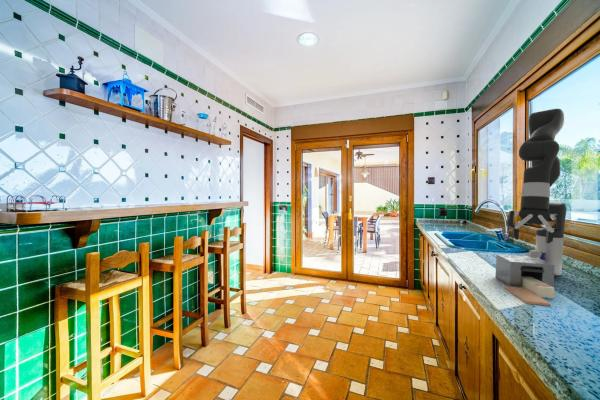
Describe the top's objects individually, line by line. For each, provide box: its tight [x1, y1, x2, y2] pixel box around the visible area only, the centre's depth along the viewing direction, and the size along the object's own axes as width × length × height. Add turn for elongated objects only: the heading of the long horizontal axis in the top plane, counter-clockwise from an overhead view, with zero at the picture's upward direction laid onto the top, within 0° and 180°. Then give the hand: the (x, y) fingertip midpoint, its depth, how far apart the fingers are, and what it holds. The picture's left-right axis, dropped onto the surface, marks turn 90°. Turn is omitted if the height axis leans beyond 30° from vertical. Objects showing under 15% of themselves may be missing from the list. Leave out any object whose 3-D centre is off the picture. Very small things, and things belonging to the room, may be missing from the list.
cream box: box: [520, 276, 556, 299], centre depth 99 cm, size 12×5×4 cm, turn 168°
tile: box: [504, 285, 552, 307], centre depth 94 cm, size 14×7×1 cm, turn 165°
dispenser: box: [495, 253, 555, 288], centre depth 106 cm, size 13×14×10 cm
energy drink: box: [529, 249, 546, 261], centre depth 113 cm, size 5×5×12 cm
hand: (531, 241), depth 92 cm, fingers open, 8 cm apart
